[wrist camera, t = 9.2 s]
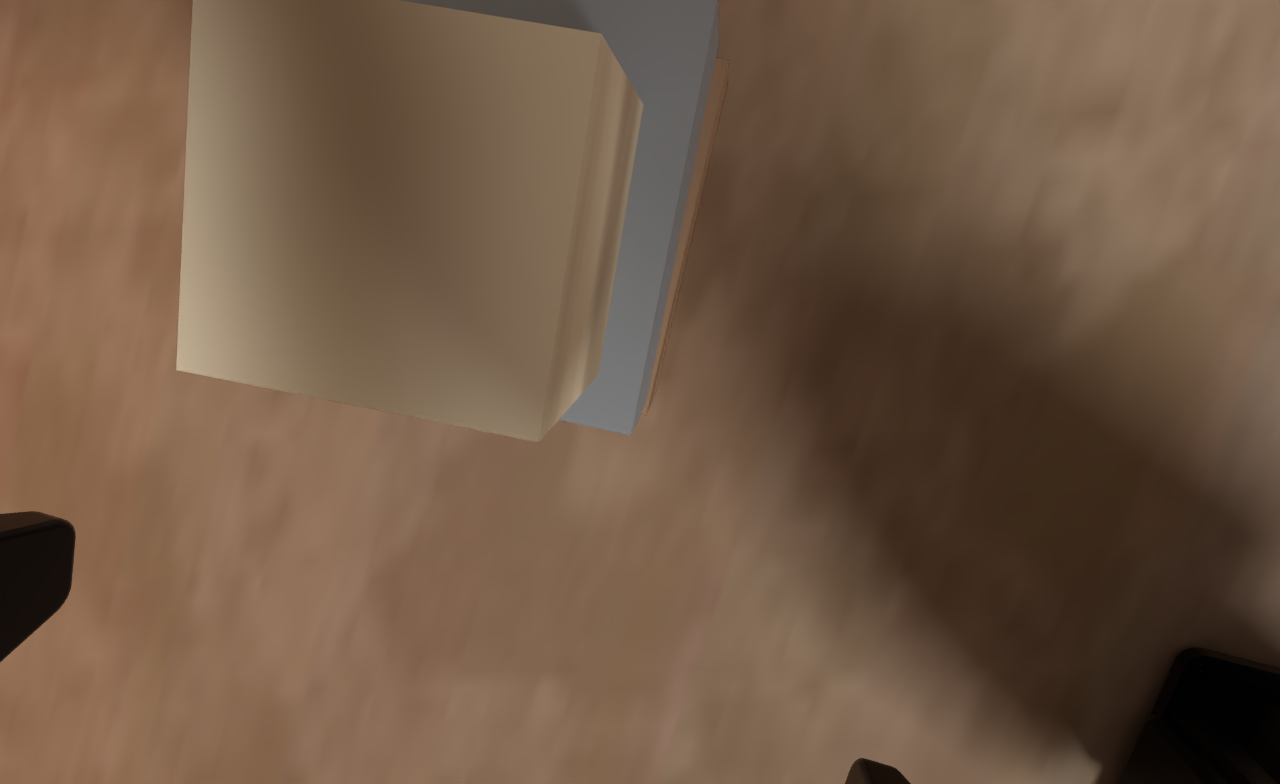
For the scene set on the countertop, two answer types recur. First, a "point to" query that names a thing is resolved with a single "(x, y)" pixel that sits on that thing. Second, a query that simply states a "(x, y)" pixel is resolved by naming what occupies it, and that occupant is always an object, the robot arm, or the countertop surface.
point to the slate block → (638, 172)
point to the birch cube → (403, 207)
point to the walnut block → (691, 211)
